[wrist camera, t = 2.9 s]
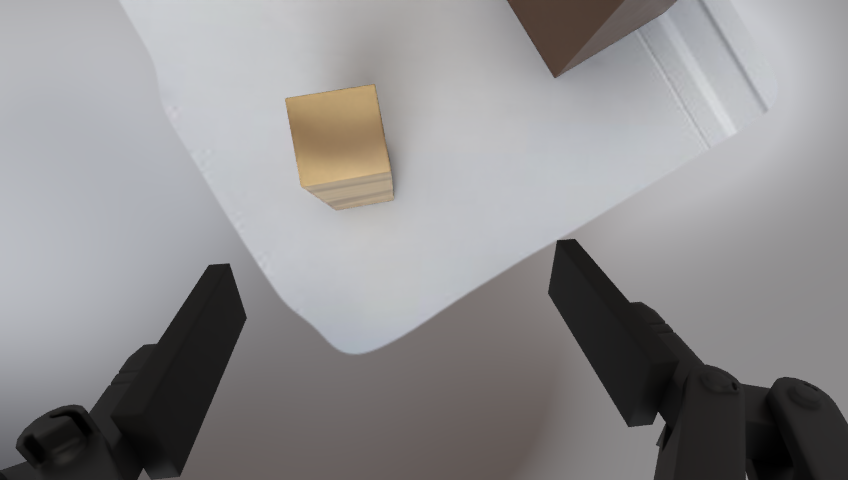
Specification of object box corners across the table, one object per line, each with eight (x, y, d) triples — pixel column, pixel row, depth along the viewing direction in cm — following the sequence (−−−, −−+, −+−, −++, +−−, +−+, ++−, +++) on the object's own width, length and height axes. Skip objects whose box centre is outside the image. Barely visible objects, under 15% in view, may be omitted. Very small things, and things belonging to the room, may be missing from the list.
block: (394, 200, 34) (391, 171, 22) (335, 210, 34) (300, 187, 22) (383, 142, 34) (374, 83, 22) (325, 152, 34) (284, 97, 22)
